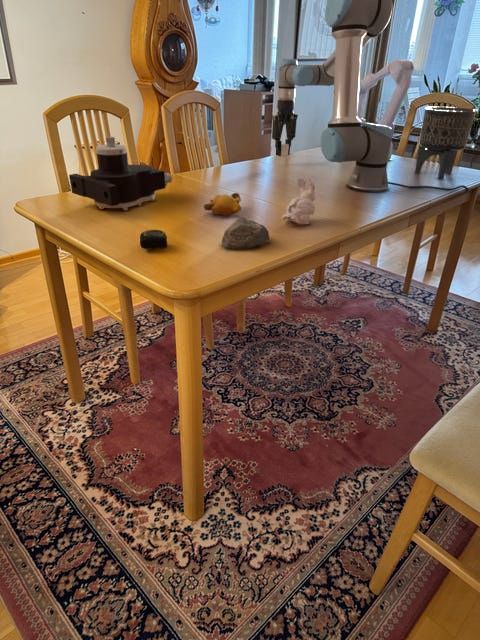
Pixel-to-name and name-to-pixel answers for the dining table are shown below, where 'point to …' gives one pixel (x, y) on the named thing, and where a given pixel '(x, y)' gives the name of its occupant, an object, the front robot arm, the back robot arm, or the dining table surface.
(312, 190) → the figurine
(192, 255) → the dining table surface
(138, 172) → the mechanical component
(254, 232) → the rock
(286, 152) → the canister
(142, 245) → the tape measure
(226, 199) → the toy
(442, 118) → the planter
